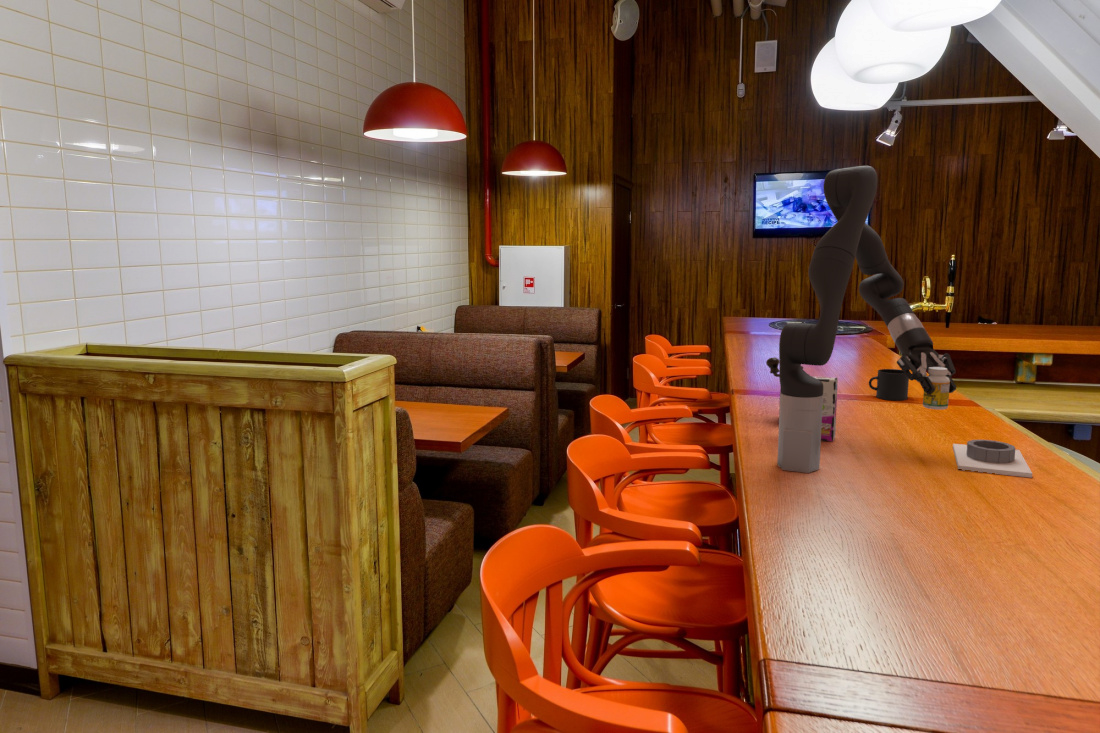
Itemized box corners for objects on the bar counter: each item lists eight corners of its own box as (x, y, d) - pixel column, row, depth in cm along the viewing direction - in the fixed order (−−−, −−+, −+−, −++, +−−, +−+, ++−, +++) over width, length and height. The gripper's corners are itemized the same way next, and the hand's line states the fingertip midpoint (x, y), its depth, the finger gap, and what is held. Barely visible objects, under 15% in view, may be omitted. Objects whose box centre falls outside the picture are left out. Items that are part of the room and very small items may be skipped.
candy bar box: (835, 437, 190) (838, 377, 187) (833, 442, 185) (836, 380, 183) (791, 433, 195) (794, 374, 192) (788, 437, 191) (791, 377, 188)
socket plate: (1031, 477, 156) (1033, 460, 155) (958, 469, 162) (959, 452, 161) (1018, 453, 173) (1020, 437, 173) (952, 447, 179) (954, 432, 179)
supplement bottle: (953, 408, 170) (956, 369, 168) (935, 410, 168) (938, 370, 167) (934, 404, 175) (937, 365, 173) (917, 405, 173) (920, 367, 172)
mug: (866, 394, 245) (868, 367, 243) (905, 396, 241) (907, 369, 239) (868, 399, 236) (870, 372, 235) (909, 401, 232) (911, 374, 231)
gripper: (893, 327, 174) (926, 384, 165) (942, 325, 177) (977, 381, 168) (876, 346, 180) (907, 402, 171) (925, 343, 183) (957, 398, 174)
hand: (942, 391), depth 169 cm, fingers closed on supplement bottle, 5 cm apart
